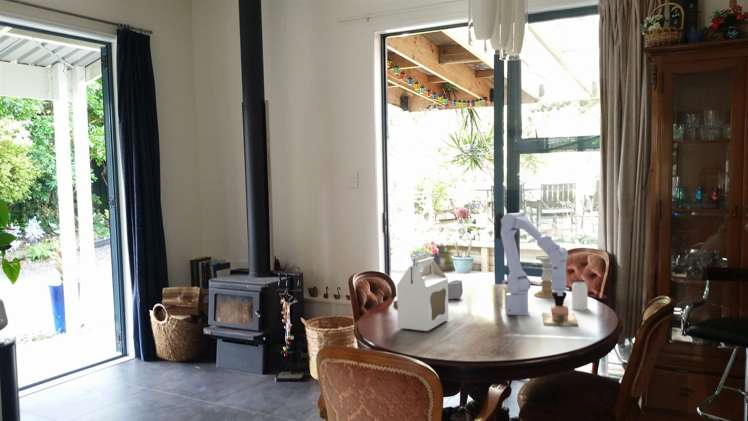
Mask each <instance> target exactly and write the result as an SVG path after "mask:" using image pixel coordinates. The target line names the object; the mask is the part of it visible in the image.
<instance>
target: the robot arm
mask: <svg viewBox="0 0 748 421" xmlns="http://www.w3.org/2000/svg"><path fill="white" fill-rule="evenodd" d="M500 222H501V223H500V224H501V229H500V237H501V241H502V245H503V249H504V254H505V258H506V261H507V268H508V269H509V274H508V276H507V284H506V285H507V290H508V291H509V292H507V293H506V295H505V296H506V297H505V301H506V302H505V311H506V315H509V316H510V315H511V316H513V315H514V316H530V310H529V290H530V289H531V286H532V283H531V280H530V279H529V277H528V274H527V272H526V271H524V269H523V267H522V262H521V259H520V254H519V251H518V247H517V243H516V238H515V234H516V233H517V231H519V230H520V229H521V230H524V231H525V232H526V233H527V234H529V235H530V236H531V237H532V238H533V239H534V240H535V241H536V244H537V246H538V247H539V248H540V249H541V250H542V251H543V252H544V253H545V254H546V256H548V257H549V260H550V261H551V264H550V267H551V268H552V270H551V275H552V281H551V282H552V288H551V290H552V291H555V292H552V295H553V297H554V298H553V299H554V304H555V305H554V306H564V302H565V299H566V297H567V291H570V287H567V261H568V259H569V252H568V250H567V249H566V247H560V244H558V243H556V242H555V241H554V240H553V239H552V236H550V235H548V234H547V235H543V234H542V233H541V231H540V230H539V229H538V228H536V226H535V225H534V224H533V222H531V221H530V220H529V217H528V216H526V215H525V214H524V213H523V212H514V213H513V212H511V213H509V212H508V213H505V214H504V215H503V216H502V218H501V219H500Z"/></svg>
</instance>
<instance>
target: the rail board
mask: <svg viewBox="0 0 748 421" xmlns="http://www.w3.org/2000/svg"><path fill="white" fill-rule="evenodd" d="M541 315H542V321H543V322H542V323H543V326H557V327H558V326H559V327H579V322H578V320H577V318H576V315H575V313H569V315H568V320H564V315H559V314H557V320H553V319H552V313H551V312H542V313H541Z"/></svg>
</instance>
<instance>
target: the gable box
mask: <svg viewBox="0 0 748 421" xmlns="http://www.w3.org/2000/svg"><path fill="white" fill-rule="evenodd" d="M434 258H435V256H432V254H431V253H428V254H424V255H421V256H418V257H414V258H413V263H412V264H413V265H411V266H409V267H408V268H407V270H406V271H405V272H404V274H403V276H402V277H401V278H400V280H399V282H398V283H397V285H396V295H397V296H396V298H397V304H398V308H397V328H399V329H405V330H415V331H424V332H429V331H431V330H432V329H434V328H435V327H437V326H440V325H441V324H442V323H444V322H446V321H448V320H449V318H450V317H449V299H448V283H449V279H448V277H447V276H446V274H445V273H444V272H443V271H442V269H441V268H440V266H439V265H438V263H437V261H435V260H434ZM421 268H423V269H422V271H420V269H421Z"/></svg>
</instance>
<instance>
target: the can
mask: <svg viewBox="0 0 748 421" xmlns="http://www.w3.org/2000/svg"><path fill="white" fill-rule="evenodd" d="M588 303H589V302H588V284H587V282H585V281H573V282H572V284H571V305H572V306H571V308H572V310H575V311H587V310H588V308H589V307H588V305H589V304H588Z"/></svg>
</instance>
